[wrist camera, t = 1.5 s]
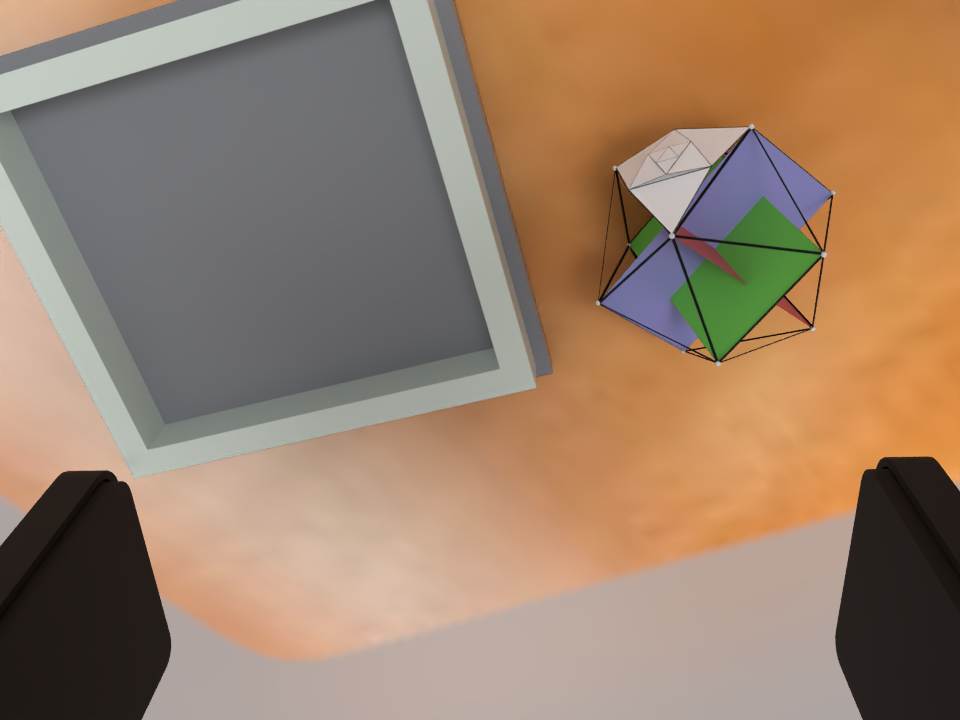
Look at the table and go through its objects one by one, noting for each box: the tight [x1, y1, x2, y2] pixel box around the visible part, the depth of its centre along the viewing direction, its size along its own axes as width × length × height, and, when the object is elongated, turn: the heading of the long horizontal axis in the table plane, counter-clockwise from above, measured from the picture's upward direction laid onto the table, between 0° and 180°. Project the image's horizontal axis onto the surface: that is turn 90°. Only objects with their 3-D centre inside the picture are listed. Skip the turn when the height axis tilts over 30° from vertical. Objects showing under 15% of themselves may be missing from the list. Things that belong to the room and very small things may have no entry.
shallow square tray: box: [0, 0, 553, 479], centre depth 30 cm, size 16×15×3 cm
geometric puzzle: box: [596, 124, 835, 366], centre depth 27 cm, size 7×7×8 cm
